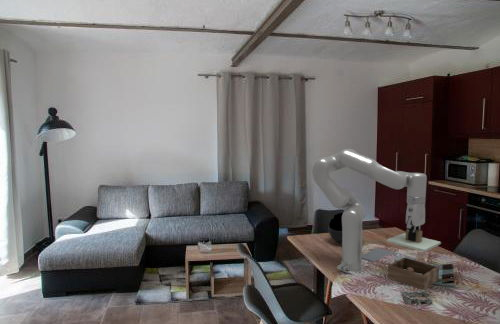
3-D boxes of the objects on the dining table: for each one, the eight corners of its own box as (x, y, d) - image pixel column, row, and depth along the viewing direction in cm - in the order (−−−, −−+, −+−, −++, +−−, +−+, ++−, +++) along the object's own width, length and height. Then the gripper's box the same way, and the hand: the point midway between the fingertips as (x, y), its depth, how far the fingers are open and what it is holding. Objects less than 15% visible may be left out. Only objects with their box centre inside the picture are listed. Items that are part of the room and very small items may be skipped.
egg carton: (428, 299, 137) (428, 289, 136) (433, 308, 129) (434, 298, 129) (400, 296, 139) (400, 286, 139) (403, 304, 132) (404, 294, 132)
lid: (424, 252, 140) (425, 238, 140) (386, 241, 153) (387, 229, 153) (440, 244, 151) (441, 231, 151) (403, 234, 164) (404, 223, 164)
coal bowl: (349, 237, 219) (350, 209, 218) (367, 247, 200) (368, 216, 199) (322, 240, 214) (322, 211, 213) (338, 250, 195) (338, 218, 194)
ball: (412, 277, 155) (412, 269, 155) (404, 274, 158) (404, 267, 158) (415, 275, 158) (415, 267, 157) (407, 272, 160) (408, 265, 160)
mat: (396, 269, 166) (396, 268, 166) (357, 257, 183) (357, 256, 183) (416, 259, 180) (416, 258, 180) (378, 248, 197) (378, 247, 197)
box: (423, 292, 142) (424, 276, 142) (387, 280, 154) (388, 265, 154) (438, 281, 152) (439, 267, 152) (403, 271, 165) (404, 257, 164)
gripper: (416, 203, 142) (414, 245, 144) (432, 199, 153) (429, 238, 154) (399, 200, 148) (397, 240, 150) (415, 196, 159) (413, 234, 160)
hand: (413, 239), depth 152 cm, fingers closed on lid, 3 cm apart
